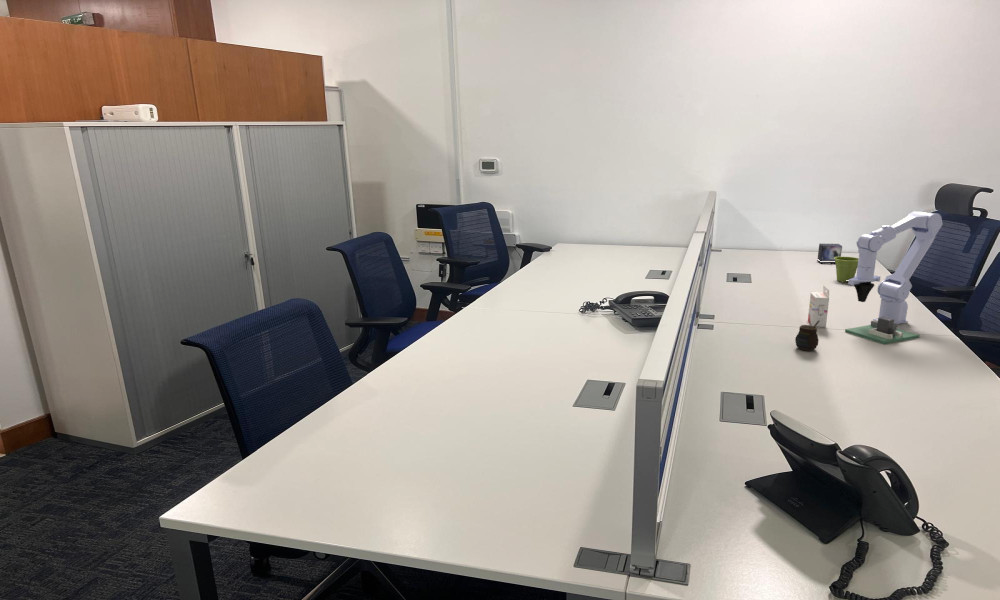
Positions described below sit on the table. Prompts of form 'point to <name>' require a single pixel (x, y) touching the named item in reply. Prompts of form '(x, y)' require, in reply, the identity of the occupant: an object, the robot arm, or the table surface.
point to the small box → (829, 252)
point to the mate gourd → (807, 337)
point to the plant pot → (846, 268)
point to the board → (874, 335)
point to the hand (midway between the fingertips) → (861, 301)
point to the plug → (886, 326)
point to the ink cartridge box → (818, 308)
